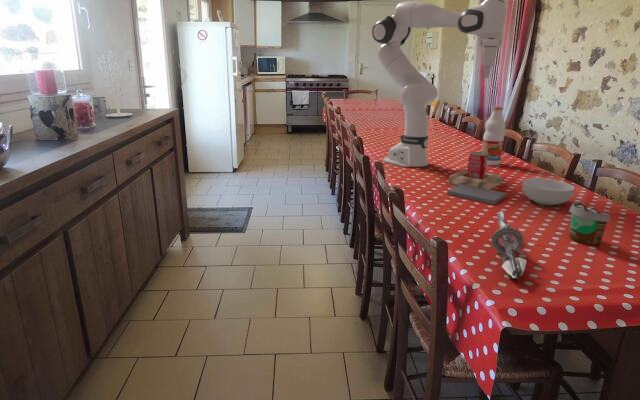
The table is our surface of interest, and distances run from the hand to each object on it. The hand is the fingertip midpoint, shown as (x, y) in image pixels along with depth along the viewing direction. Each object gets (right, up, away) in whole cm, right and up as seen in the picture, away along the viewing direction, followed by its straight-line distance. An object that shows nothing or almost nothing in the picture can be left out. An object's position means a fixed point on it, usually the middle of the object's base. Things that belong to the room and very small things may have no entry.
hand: (486, 77), depth 177 cm
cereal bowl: (+15, -51, -19) cm, 57 cm away
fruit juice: (+17, -32, +39) cm, 53 cm away
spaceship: (-19, -65, -61) cm, 91 cm away
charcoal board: (-9, -49, -12) cm, 51 cm away
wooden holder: (-3, -44, +3) cm, 44 cm away
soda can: (-3, -44, +4) cm, 44 cm away
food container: (+7, -62, -52) cm, 81 cm away
